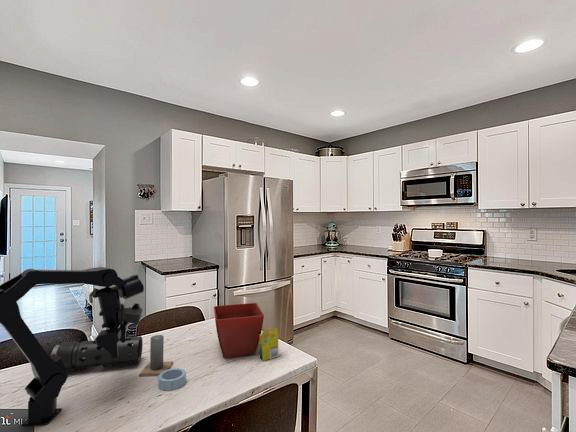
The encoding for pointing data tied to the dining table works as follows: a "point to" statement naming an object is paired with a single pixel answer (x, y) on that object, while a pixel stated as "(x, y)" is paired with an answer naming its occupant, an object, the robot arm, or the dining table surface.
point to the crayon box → (268, 344)
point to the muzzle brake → (98, 354)
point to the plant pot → (238, 328)
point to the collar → (171, 379)
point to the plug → (156, 352)
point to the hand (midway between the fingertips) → (120, 349)
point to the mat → (148, 372)
